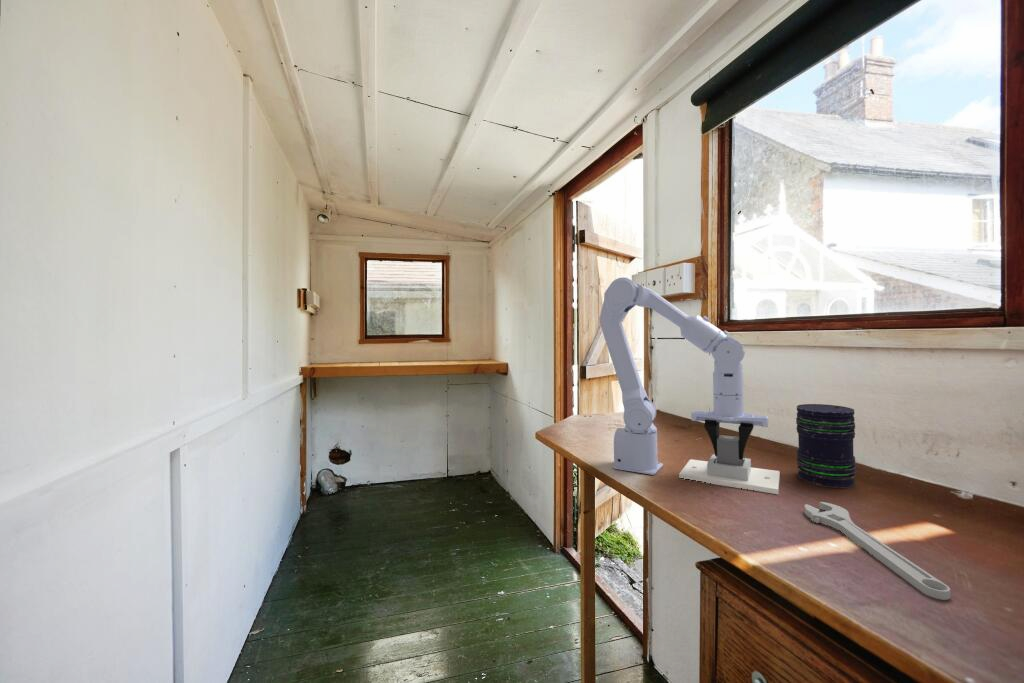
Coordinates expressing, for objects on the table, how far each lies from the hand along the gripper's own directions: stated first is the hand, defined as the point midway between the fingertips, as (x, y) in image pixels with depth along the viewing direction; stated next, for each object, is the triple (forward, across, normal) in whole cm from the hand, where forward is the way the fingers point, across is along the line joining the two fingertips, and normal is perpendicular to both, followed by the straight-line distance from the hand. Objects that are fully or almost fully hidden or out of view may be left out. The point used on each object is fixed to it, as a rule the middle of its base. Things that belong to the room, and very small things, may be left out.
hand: (729, 456), depth 90 cm
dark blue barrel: (+5, +17, +8) cm, 19 cm away
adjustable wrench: (+5, +20, -22) cm, 30 cm away
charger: (+2, 0, 0) cm, 2 cm away
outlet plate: (+4, 0, 0) cm, 4 cm away
